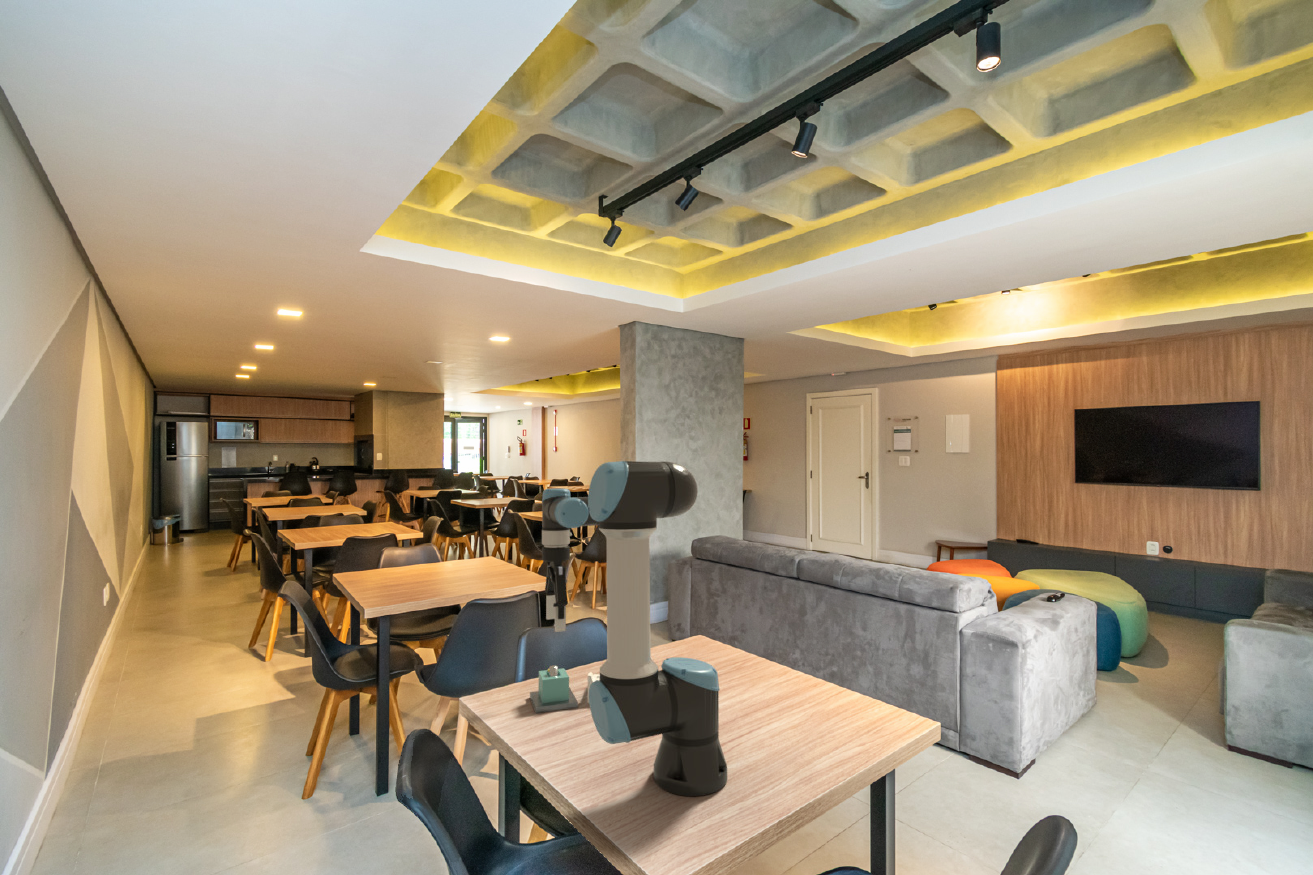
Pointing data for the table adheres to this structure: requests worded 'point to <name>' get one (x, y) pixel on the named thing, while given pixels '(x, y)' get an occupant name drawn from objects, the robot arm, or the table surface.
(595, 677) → the bracket
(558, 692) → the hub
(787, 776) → the table surface
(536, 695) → the shaft base
